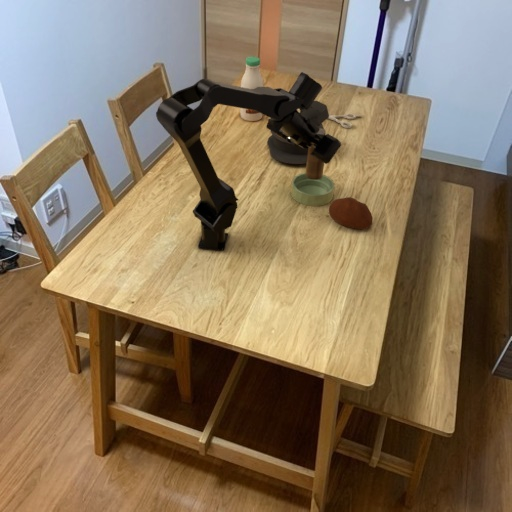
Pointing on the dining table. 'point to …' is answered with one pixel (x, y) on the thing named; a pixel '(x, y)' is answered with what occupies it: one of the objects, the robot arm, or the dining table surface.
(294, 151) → the casserole
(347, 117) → the scissors
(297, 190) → the green round dish
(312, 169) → the pepper mill
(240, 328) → the dining table surface
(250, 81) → the milk bottle
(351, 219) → the potato
